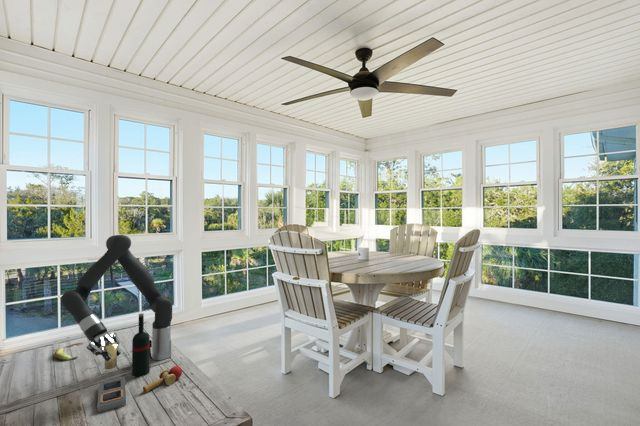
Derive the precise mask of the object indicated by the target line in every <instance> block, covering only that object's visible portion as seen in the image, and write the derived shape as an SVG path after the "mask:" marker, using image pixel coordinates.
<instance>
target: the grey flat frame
mask: <svg viewBox="0 0 640 426" xmlns="http://www.w3.org/2000/svg"><path fill="white" fill-rule="evenodd" d="M126 395H127V393H126V377H125V376H122V377H118V378H113V379H108V380H104V381H100V382H99V385H98V396H97V403H96V405H97V406H96V413H97V414H100V413H103V412H107V411H111V410H114V409H118V408H121V407H125V406H127V396H126Z"/></svg>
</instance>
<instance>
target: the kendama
mask: <svg viewBox="0 0 640 426" xmlns="http://www.w3.org/2000/svg"><path fill="white" fill-rule="evenodd" d="M182 374H183V369H182V367H181V366H178V365H174V366H172V367H171V368H170V369H169V370H168V369H163V370H162V371H161V372H159V375H158V376H159V377H158V379H156V380H155V381H152V382H151V383H148V384H146V385H144V386H143V387H142V391H143V393H145V394H147V393H149V392H150V391H151V390H153V389H154V388H155V387H157V386H158V385H160V384H161V383H162V382H164V383H165V385H167V386H170V385H172V384H174V383H175V381H176V380H178V379H179V378H180V377H181V376H182Z"/></svg>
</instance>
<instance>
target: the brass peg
mask: <svg viewBox="0 0 640 426" xmlns="http://www.w3.org/2000/svg"><path fill="white" fill-rule="evenodd" d="M105 349H106V351H107V352H108V353H109V355H110V356H111V359H110V360H109V361H107V360H105V359H104V369H105V370H112V369H114V368H116V367H117V365H118V362H117V361H118V359H117V357H118V356H117V343H116V342H112V343H110V342H109V343H108V344H106V345H105Z"/></svg>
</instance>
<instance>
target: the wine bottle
mask: <svg viewBox="0 0 640 426" xmlns="http://www.w3.org/2000/svg"><path fill="white" fill-rule="evenodd" d="M144 315H145V314H144V313H138V332H137V333H135V334H134V336H133V337H132V340H131V344H132V345H131V348H132V349H131V351H132V352H131V376H132V377H133V376H134V378H139V377H140V376H141V377H145V376H146V375H148V374H149V373H150V371H151V370H150V369H151V368H150V367H151V364H150V363H151V362H150V361H151V360H153V359H152V339H151V338H150V335H149V333H147V332H146V331H144V329H145V328H144V327H145V326H144V323H145V322H144V320H145V319H144V318H145V316H144ZM150 359H151V360H150Z"/></svg>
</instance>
